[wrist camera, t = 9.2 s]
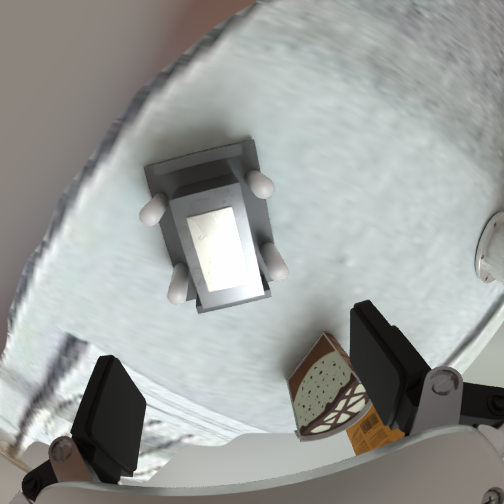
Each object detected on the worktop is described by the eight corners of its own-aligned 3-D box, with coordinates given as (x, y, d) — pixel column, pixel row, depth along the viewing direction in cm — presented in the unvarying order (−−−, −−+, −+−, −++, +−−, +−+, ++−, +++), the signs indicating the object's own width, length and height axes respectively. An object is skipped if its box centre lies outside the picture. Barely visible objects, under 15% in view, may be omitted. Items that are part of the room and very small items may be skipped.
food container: (315, 392, 39) (335, 444, 29) (281, 387, 37) (297, 443, 28) (363, 332, 35) (398, 383, 26) (329, 322, 33) (363, 378, 24)
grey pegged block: (253, 139, 24) (265, 139, 19) (279, 275, 30) (293, 304, 24) (144, 166, 24) (126, 174, 18) (185, 297, 29) (181, 330, 24)
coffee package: (407, 386, 43) (462, 469, 23) (372, 425, 47) (412, 504, 27) (372, 387, 41) (429, 487, 21) (336, 428, 45) (374, 520, 25)
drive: (233, 173, 24) (239, 183, 19) (253, 263, 28) (264, 295, 22) (178, 186, 24) (168, 201, 18) (204, 275, 28) (203, 310, 22)
